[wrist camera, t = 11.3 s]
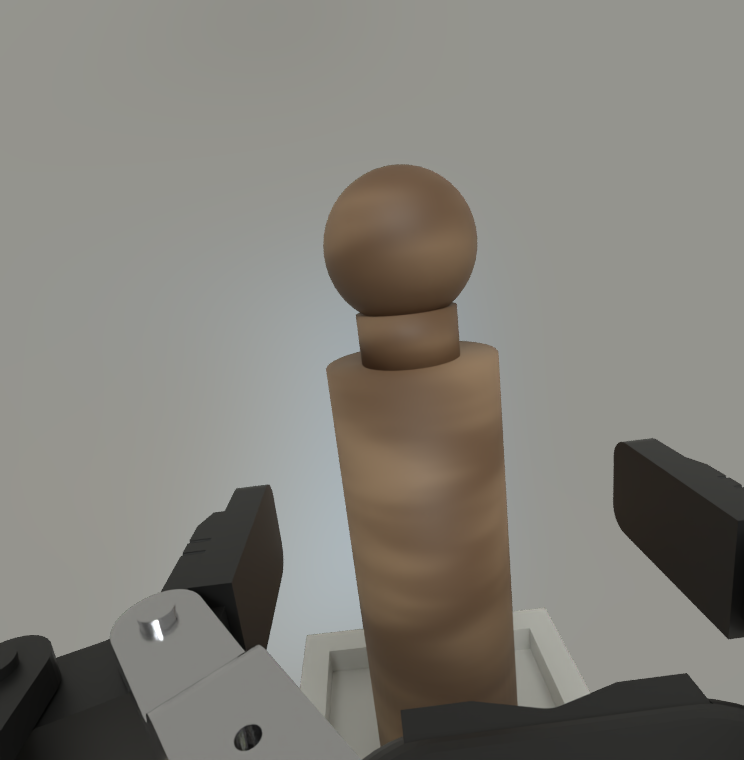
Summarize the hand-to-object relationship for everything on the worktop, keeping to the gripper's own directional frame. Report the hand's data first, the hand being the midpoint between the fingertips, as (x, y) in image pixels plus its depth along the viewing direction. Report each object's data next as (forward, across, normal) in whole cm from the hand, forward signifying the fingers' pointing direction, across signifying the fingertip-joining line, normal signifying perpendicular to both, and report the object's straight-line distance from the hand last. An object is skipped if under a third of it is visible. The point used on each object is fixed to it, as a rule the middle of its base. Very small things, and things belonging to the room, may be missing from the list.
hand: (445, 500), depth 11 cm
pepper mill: (+4, 0, +14) cm, 14 cm away
